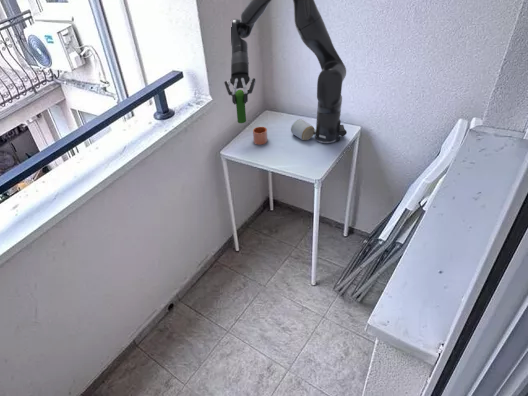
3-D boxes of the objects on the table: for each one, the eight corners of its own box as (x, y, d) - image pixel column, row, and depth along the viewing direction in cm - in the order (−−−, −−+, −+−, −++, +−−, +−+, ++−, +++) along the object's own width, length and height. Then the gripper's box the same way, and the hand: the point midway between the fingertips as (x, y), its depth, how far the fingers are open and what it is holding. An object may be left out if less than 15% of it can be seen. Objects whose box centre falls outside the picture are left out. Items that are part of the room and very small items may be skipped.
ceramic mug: (302, 143, 161) (303, 128, 156) (290, 136, 167) (290, 122, 162) (321, 135, 163) (322, 120, 158) (308, 128, 169) (309, 114, 164)
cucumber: (246, 118, 164) (244, 87, 155) (245, 123, 161) (243, 91, 152) (237, 119, 165) (235, 88, 156) (237, 123, 163) (234, 92, 153)
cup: (267, 138, 170) (266, 126, 166) (267, 145, 165) (266, 133, 161) (253, 139, 172) (253, 127, 168) (253, 146, 167) (252, 134, 163)
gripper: (222, 63, 155) (222, 102, 154) (255, 59, 151) (256, 99, 150) (224, 70, 162) (224, 107, 161) (256, 66, 158) (257, 104, 157)
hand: (240, 103), depth 156 cm, fingers closed on cucumber, 4 cm apart
